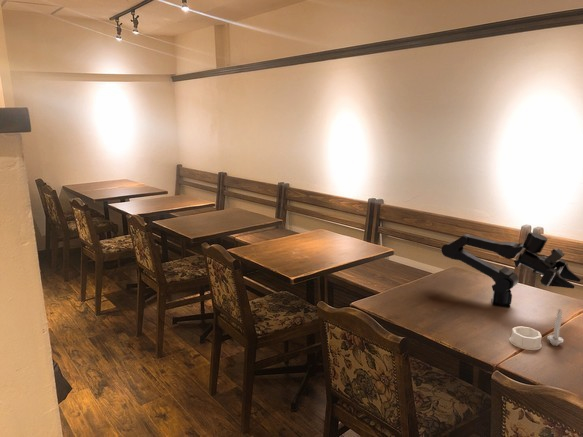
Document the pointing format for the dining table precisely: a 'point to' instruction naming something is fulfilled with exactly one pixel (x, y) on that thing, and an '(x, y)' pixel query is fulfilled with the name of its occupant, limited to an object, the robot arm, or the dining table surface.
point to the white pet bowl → (526, 338)
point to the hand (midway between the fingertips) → (577, 283)
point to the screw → (556, 330)
